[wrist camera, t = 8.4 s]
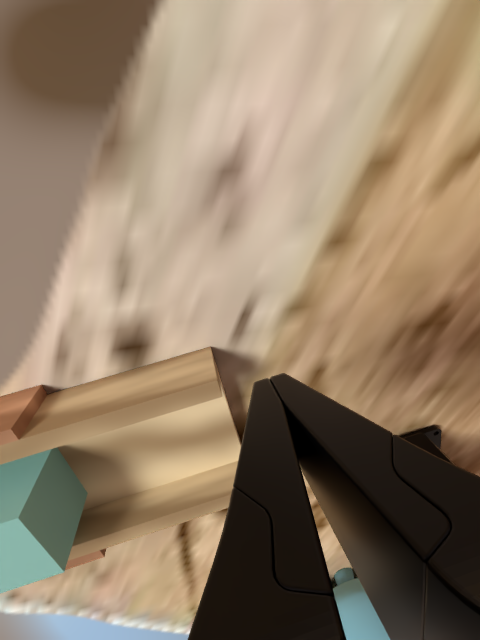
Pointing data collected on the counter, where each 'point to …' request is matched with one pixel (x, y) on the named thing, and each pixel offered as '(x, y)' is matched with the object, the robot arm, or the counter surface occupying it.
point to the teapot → (356, 609)
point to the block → (37, 517)
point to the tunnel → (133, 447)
